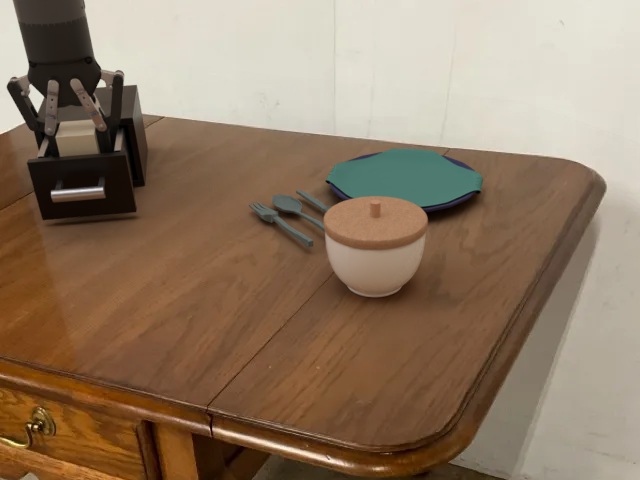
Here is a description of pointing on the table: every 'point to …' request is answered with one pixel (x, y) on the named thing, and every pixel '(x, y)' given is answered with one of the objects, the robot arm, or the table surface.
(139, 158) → the dark wood drawer unit
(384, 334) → the table surface
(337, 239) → the trinket box
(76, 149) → the ivory upright block
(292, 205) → the cutlery set
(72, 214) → the open drawer with handle
